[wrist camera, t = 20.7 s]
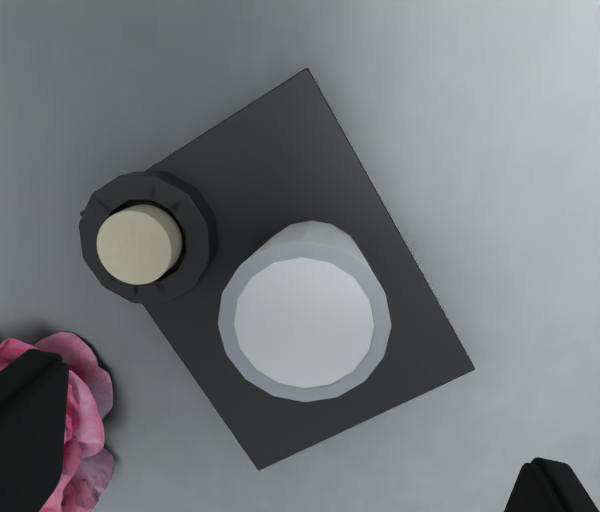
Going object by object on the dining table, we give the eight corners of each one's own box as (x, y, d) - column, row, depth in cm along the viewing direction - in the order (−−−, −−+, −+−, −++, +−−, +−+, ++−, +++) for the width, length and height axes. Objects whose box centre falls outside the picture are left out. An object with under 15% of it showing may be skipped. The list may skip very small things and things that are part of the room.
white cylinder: (347, 351, 27) (350, 427, 21) (229, 305, 27) (194, 367, 20) (399, 238, 26) (421, 281, 19) (273, 188, 25) (250, 213, 19)
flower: (86, 289, 32) (123, 361, 24) (107, 417, 36) (144, 517, 28) (-139, 334, 27) (-189, 446, 19) (-90, 479, 30) (-114, 627, 22)
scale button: (98, 226, 25) (80, 234, 23) (155, 190, 24) (142, 196, 23) (139, 286, 26) (125, 297, 24) (196, 252, 25) (186, 262, 23)
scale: (83, 207, 28) (53, 218, 25) (306, 65, 25) (302, 57, 22) (257, 459, 31) (249, 494, 28) (470, 359, 28) (485, 386, 25)
